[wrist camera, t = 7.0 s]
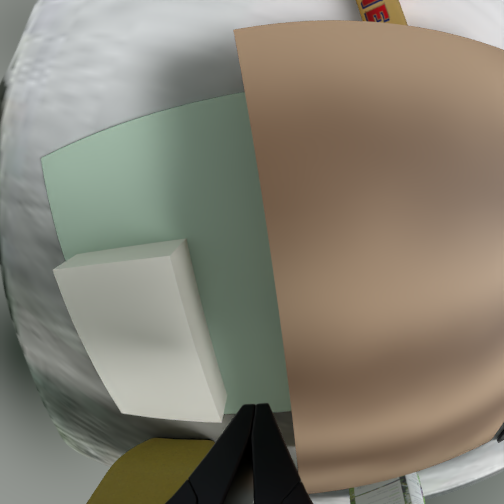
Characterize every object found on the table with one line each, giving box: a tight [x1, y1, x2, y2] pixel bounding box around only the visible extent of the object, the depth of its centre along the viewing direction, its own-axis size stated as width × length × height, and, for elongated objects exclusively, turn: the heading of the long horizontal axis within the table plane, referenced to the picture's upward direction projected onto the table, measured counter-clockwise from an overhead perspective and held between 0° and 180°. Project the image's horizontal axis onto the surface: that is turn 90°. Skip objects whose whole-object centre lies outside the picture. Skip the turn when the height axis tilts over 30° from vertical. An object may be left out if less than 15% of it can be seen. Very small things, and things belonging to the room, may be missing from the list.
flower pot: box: [87, 438, 215, 504], centre depth 14 cm, size 9×9×9 cm
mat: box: [41, 92, 291, 414], centre depth 13 cm, size 16×11×1 cm
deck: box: [234, 20, 504, 494], centre depth 10 cm, size 22×14×4 cm, turn 9°
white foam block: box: [53, 238, 227, 423], centre depth 12 cm, size 9×6×2 cm, turn 8°
